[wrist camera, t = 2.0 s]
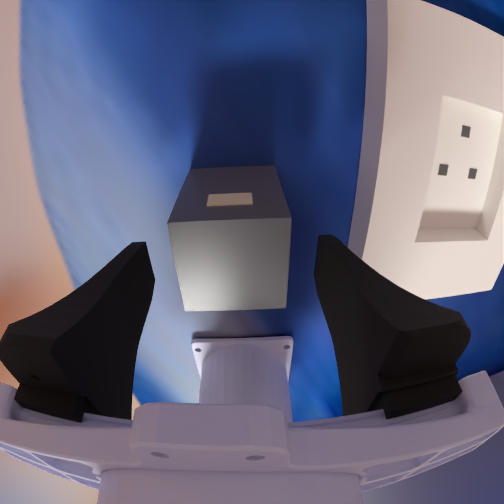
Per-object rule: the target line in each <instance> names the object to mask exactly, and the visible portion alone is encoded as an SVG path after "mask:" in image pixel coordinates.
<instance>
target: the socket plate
mask: <svg viewBox="0 0 504 504" xmlns="http://www.w3.org/2000/svg"><path fill="white" fill-rule="evenodd" d="M366 5H367V65H366V89H365V106H364V120H363V133H362V143H361V153H360V163H359V171H358V180H357V188H356V195H355V202H354V209H353V216H352V222H351V229H350V235H349V241H348V247H347V248H349V249H350V250H351V251H352V252H353V253H354V254H355V255H357V256H358V257H359V258H360V259H361V260H363V261H364V262H365V263H366V264H368V265H369V266H370V267H371V268H373V269H374V270H375V271H377V272H378V273H379V274H381V275H382V276H384V277H385V278H387V279H388V280H390V281H391V282H393V283H394V284H396V285H398V286H399V287H401V288H403V289H405V290H407V291H408V292H410V293H412V294H414V295H416V296H418V297H420V298H422V299H433V298H440V297H448V296H455V295H461V294H468V293H474V292H481V291H487V290H491V289H492V287H493V285H494V283H495V281H496V279H497V277H498V275H499V273H500V270H501V268H502V266H503V264H504V37H503V36H501V35H500V34H498V33H496V32H494V31H492V30H490V29H488V28H486V27H484V26H482V25H480V24H478V23H476V22H474V21H472V20H470V19H467V18H465V17H463V16H461V15H458V14H456V13H454V12H451V11H449V10H446V9H444V8H441V7H438V6H436V5H433V4H430V3H427V2H425V1H422V0H366Z"/></svg>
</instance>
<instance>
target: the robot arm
mask: <svg viewBox="0 0 504 504" xmlns="http://www.w3.org/2000/svg"><path fill="white" fill-rule="evenodd" d="M314 278H315V283H316V289H317V294H318V297H319V300H320V303H321V306H322V309H323V312H324V315H325V318H326V321H327V325H328V328H329V331H330V334H331V337H332V341H333V345H334V350H335V356H336V361H337V367H338V374H339V380H340V388H341V397H342V406H343V416H342V417H335V418H328V419H320V420H312V421H302V422H293V419H292V411H291V403H290V395H289V387H288V381H289V374H290V366H291V359H292V351H293V343H294V342H293V338H292V337H291V336H277V337H256V338H224V339H194V340H192V342H191V347H192V351H193V355H194V358H195V362H196V366H197V369H198V373H199V376H200V380H201V384H200V397H199V404H198V403H172V402H152V403H145V404H143V405H142V406H140V407H138V408H136V409H135V412H134V418H133V420H131V415H132V414H131V413H132V391H133V379H134V370H135V363H136V356H137V349H138V345H139V341H140V337H141V334H142V331H143V327H144V324H145V321H146V317H147V314H148V311H149V307H150V304H151V301H152V296H153V290H154V284H155V277H154V274H153V270H152V266H151V262H150V258H149V254H148V250H147V245H146V242H132V243H131V244H130V245H128V246H127V247H126V248H125V249H124V250H122V251H121V252H120V253H119V254H118V255H117V256H116V257H115V258H113V259H112V260H111V261H110V262H109V263H108V264H107V265H106V266H105V267H103V268H102V269H101V270H100V271H99V272H97V273H96V274H95V275H94V276H93V277H92V278H90V279H89V280H88V281H87V282H85V283H84V284H83V285H82V286H80V287H79V288H77V289H76V290H75V291H73V292H72V293H70V294H69V295H67V296H66V297H64V298H62V299H61V300H59V301H58V302H56V303H54V304H53V305H51V306H49V307H47V308H45V309H43V310H42V311H40V312H37V313H35V314H33V315H31V316H29V317H27V318H24V319H22V320H19V321H17V322H14V323H12V324H9V325H8V327H7V329H6V331H5V333H4V335H3V337H2V338H1V340H0V360H1V362H2V363H3V364H4V366H5V367H6V368H7V369H8V370H9V372H10V373H11V374H12V375H13V376H14V377H15V379H16V380H17V381H18V382H19V383H20V385H19V387H18V390H17V389H16V388H14V387H12V386H10V385H7V384H4V383H1V382H0V449H1V450H3V451H4V452H6V453H7V454H9V455H10V456H12V457H14V458H16V459H18V460H21V461H23V462H25V463H27V464H30V465H32V466H34V467H37V468H39V469H42V470H44V471H47V472H49V473H52V474H54V475H57V476H60V477H62V478H65V479H68V480H70V481H74V482H76V483H79V484H82V485H85V486H88V487H92V488H95V489H98V490H99V495H98V502H97V504H363V498H362V492H365V491H369V490H372V489H376V488H379V487H382V486H385V485H389V484H392V483H395V482H398V481H400V480H403V479H406V478H409V477H412V476H414V475H417V474H419V473H422V472H424V471H427V470H429V469H432V468H434V467H437V466H439V465H441V464H444V463H446V462H448V461H450V460H453V459H455V458H457V457H460V456H462V455H464V454H466V453H468V452H470V451H472V450H474V449H476V448H477V447H478V446H480V445H481V444H482V443H484V442H485V441H486V440H488V439H489V438H490V437H491V436H493V435H494V434H495V433H496V432H498V431H499V430H500V429H501V428H502V427H504V409H503V407H502V404H501V402H500V400H499V397H498V395H497V393H496V391H495V389H494V387H493V385H492V383H491V381H490V379H489V376H488V374H487V372H486V371H481V372H478V373H476V374H473V375H470V376H467V377H465V378H463V379H461V380H460V381H459V382H458V380H457V378H456V376H455V375H457V373H458V369H457V367H456V364H455V363H456V362H457V360H458V359H459V357H460V356H461V354H462V353H463V352H464V350H465V349H466V347H467V345H468V343H469V341H470V337H471V331H470V329H469V327H468V325H467V324H466V322H465V320H464V319H463V317H462V315H461V314H460V312H457V311H454V310H451V309H448V308H445V307H442V306H439V305H436V304H434V303H432V302H429V301H427V300H425V299H422V298H420V297H418V296H416V295H414V294H412V293H410V292H408V291H407V290H405V289H403V288H401V287H399V286H398V285H396V284H394V283H393V282H391V281H390V280H388V279H387V278H385V277H384V276H382V275H381V274H379V273H378V272H377V271H375V270H374V269H373V268H371V267H370V266H369V265H368V264H366V263H365V262H364V261H363V260H361V259H360V258H359V257H358V256H357V255H355V254H354V253H353V252H352V251H351V250H350V249H349V248H347V247H346V246H345V245H344V244H343V243H342V242H341V241H339V240H338V239H337V238H336V237H335V236H333V235H319V236H318V245H317V253H316V261H315V269H314Z"/></svg>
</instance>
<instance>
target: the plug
mask: <svg viewBox="0 0 504 504" xmlns="http://www.w3.org/2000/svg"><path fill="white" fill-rule="evenodd" d="M291 220H292V217H291V214H290V211H289V208H288V205H287V202H286V198H285V195H284V192H283V189H282V186H281V183H280V180H279V177H278V174H277V171H276V168H275V165H269V166H234V167H213V168H197V169H190V171H189V173H188V175H187V177H186V180H185V182H184V184H183V187H182V189H181V191H180V193H179V196H178V198H177V201H176V203H175V205H174V208H173V210H172V213H171V215H170V217H169V220H168V222H167V224H168V229H169V235H170V240H171V246H172V251H173V256H174V261H175V266H176V271H177V276H178V281H179V285H180V290H181V295H182V299H183V304H184V308H185V311H225V310H255V309H277V308H286V301H287V287H288V272H289V256H290V239H291Z"/></svg>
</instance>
